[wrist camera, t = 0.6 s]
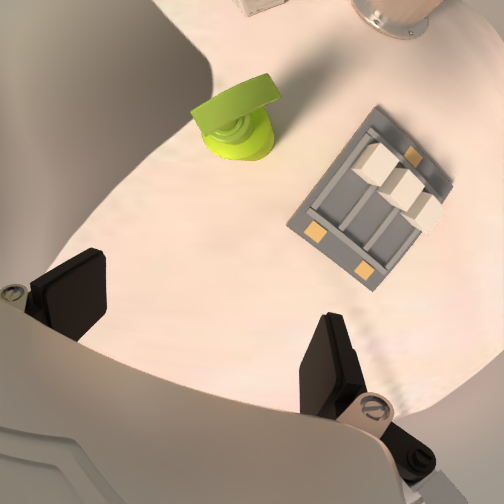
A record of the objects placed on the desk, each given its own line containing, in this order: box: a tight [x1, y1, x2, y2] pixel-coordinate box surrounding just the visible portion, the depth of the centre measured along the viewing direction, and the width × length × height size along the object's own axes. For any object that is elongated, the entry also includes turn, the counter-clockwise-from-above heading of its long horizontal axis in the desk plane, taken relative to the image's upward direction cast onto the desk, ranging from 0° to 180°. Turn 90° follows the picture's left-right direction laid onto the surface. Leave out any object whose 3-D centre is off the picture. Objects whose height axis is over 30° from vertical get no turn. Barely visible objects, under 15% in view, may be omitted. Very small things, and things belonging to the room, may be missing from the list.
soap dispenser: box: [191, 73, 281, 161], centre depth 24 cm, size 6×7×20 cm
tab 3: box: [399, 191, 446, 235], centre depth 30 cm, size 4×3×5 cm
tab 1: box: [350, 143, 400, 187], centre depth 29 cm, size 4×3×5 cm
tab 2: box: [376, 168, 425, 212], centre depth 30 cm, size 4×3×5 cm
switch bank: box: [286, 108, 453, 292], centre depth 34 cm, size 20×16×2 cm
